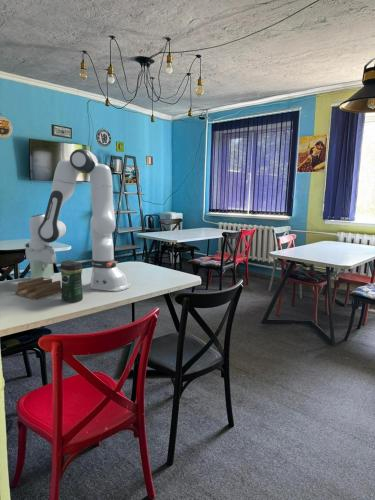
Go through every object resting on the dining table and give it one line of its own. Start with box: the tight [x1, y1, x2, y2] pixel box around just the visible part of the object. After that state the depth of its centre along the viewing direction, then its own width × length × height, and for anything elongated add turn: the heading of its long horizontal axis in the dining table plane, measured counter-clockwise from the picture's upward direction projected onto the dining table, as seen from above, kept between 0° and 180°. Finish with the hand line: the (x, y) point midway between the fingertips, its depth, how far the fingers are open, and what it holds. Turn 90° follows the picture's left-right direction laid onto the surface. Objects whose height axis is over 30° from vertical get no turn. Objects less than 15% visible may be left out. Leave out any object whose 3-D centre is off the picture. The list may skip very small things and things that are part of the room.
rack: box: [14, 277, 62, 301], centre depth 170 cm, size 15×16×6 cm
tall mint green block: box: [29, 260, 54, 280], centre depth 186 cm, size 3×12×10 cm, turn 151°
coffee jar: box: [60, 260, 84, 303], centre depth 160 cm, size 10×8×19 cm
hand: (42, 269), depth 186 cm, fingers closed on tall mint green block, 3 cm apart
